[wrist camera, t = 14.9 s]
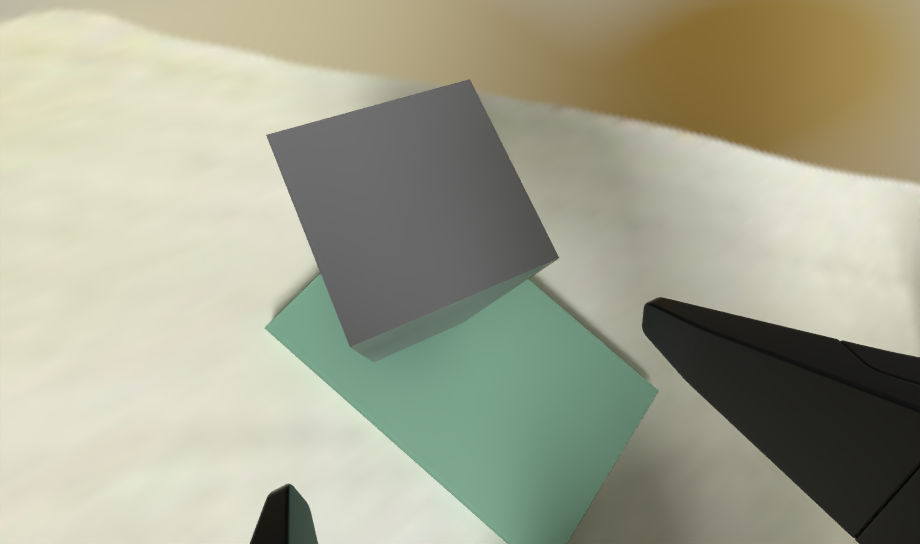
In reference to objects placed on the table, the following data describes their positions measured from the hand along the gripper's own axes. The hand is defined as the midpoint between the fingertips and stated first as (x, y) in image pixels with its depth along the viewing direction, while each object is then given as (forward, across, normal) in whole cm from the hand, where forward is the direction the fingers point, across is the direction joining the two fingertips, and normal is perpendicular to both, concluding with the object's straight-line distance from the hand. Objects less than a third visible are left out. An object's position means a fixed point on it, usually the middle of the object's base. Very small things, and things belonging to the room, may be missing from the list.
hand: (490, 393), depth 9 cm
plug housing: (+12, 0, +5) cm, 12 cm away
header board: (+9, -2, +9) cm, 13 cm away
